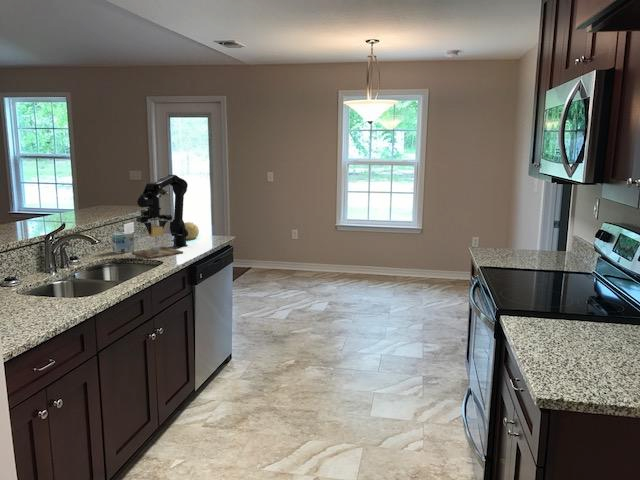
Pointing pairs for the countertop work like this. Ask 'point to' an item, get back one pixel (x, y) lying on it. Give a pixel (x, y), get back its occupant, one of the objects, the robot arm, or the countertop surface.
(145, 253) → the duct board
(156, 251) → the grey metal block
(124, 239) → the light bulb box
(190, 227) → the sculpture
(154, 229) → the collar
